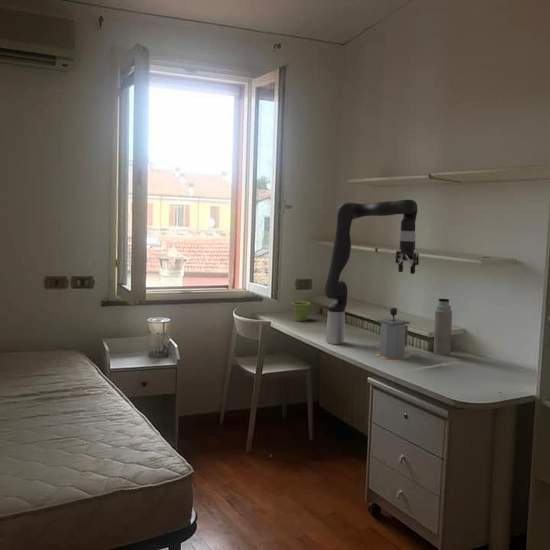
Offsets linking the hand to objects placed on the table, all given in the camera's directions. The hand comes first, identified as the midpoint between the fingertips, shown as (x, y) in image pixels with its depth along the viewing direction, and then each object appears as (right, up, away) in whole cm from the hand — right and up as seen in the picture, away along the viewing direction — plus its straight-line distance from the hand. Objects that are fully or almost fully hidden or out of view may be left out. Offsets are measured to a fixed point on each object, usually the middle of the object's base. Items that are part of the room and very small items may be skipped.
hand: (406, 272), depth 307 cm
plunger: (-8, -36, -8) cm, 38 cm away
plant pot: (-49, -30, +90) cm, 107 cm away
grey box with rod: (-7, -40, -7) cm, 41 cm away
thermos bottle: (+17, -41, -2) cm, 44 cm away
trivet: (-8, -41, -7) cm, 43 cm away
